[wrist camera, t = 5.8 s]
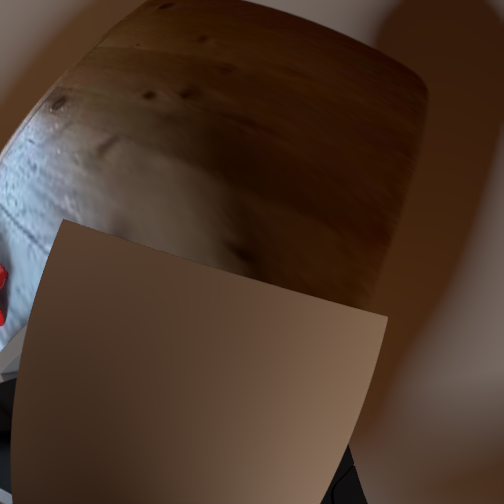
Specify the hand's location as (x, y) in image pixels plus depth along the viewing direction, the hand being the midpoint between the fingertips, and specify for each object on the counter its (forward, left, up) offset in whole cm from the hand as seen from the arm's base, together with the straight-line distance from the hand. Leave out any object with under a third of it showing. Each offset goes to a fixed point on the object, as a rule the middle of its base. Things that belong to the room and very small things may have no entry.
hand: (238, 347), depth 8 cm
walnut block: (-1, +1, -7) cm, 7 cm away
